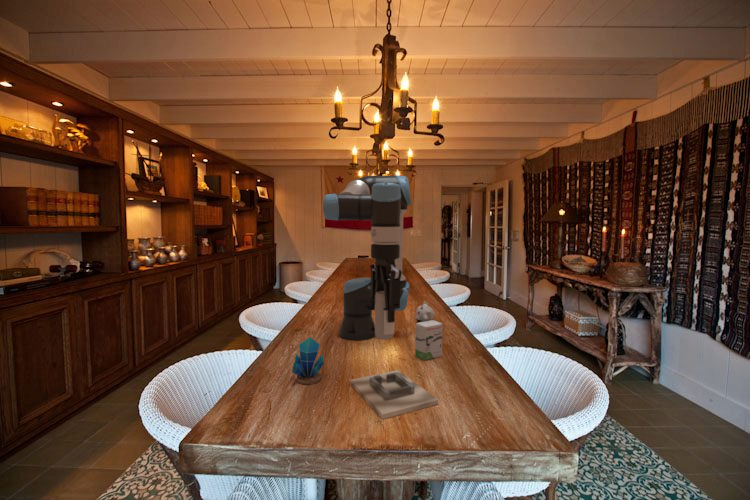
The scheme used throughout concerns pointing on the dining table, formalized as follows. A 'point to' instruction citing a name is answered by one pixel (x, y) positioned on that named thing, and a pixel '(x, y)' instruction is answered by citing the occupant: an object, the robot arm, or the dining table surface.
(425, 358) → the ink box
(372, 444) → the dining table surface
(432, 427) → the dining table surface
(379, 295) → the beverage can
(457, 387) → the dining table surface
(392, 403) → the holder board
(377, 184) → the robot arm
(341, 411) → the dining table surface
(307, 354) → the gemstone
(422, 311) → the pale grey lumpy bulb
